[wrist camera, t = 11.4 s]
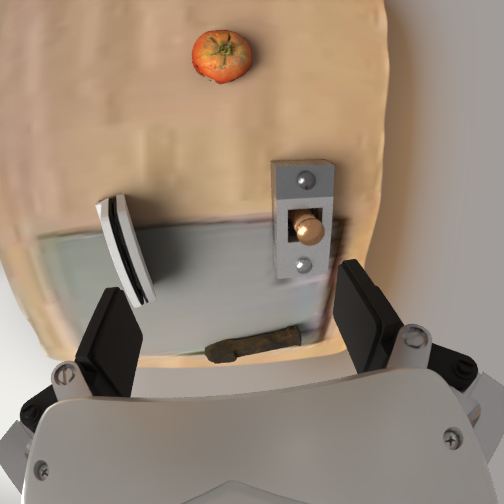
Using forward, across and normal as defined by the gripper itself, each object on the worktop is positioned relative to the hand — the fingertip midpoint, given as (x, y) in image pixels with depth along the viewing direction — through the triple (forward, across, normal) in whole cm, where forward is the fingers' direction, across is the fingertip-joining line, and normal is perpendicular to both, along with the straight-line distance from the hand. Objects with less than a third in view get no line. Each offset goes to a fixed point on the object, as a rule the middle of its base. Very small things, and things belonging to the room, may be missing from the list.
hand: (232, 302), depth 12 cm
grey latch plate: (+30, -10, +10) cm, 33 cm away
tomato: (+31, -1, -15) cm, 34 cm away
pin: (+30, -10, +10) cm, 33 cm away
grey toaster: (+30, +16, +11) cm, 36 cm away
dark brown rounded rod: (+29, -1, +35) cm, 46 cm away
